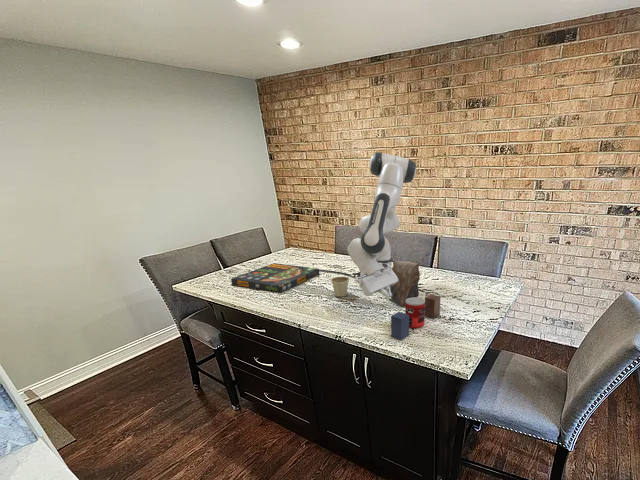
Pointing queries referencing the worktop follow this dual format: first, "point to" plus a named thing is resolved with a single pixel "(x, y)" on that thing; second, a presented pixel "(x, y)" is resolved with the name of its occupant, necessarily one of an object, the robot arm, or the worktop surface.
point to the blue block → (399, 325)
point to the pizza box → (275, 277)
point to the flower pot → (340, 286)
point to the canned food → (415, 311)
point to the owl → (405, 281)
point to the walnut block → (432, 306)
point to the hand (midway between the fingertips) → (389, 297)
